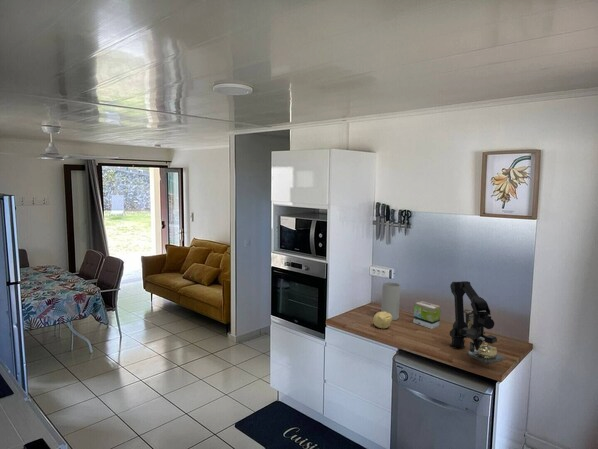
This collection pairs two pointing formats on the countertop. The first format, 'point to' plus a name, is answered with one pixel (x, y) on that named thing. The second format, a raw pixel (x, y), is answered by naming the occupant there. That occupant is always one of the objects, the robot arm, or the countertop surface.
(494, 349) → the yellow-green irregular lump
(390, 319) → the yellow crumpled ball
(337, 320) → the countertop surface
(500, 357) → the mounting plate
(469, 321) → the coffee box
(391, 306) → the cylinder vase
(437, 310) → the tea box
